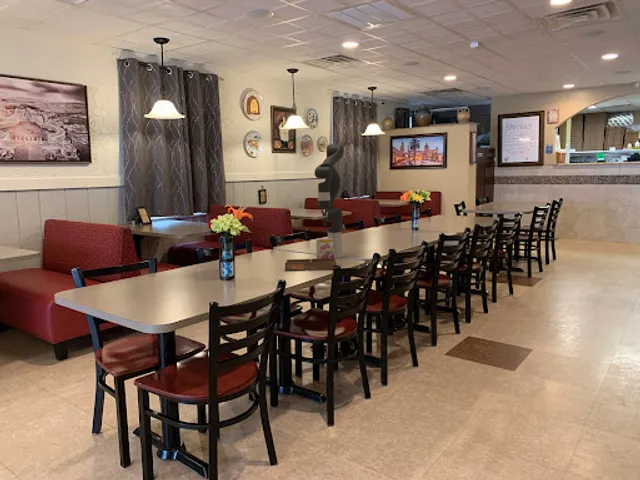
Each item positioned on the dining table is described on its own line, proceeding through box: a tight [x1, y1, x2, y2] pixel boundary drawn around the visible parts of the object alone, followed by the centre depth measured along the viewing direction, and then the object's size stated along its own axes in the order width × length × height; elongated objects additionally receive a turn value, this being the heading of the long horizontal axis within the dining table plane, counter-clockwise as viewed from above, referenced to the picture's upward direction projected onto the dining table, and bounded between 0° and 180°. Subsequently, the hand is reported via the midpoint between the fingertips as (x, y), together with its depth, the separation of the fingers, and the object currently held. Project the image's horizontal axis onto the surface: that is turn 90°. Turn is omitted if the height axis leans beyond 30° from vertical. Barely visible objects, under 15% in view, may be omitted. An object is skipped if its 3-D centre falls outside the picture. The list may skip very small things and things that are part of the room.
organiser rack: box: [284, 258, 337, 272], centre depth 304 cm, size 11×30×5 cm, turn 89°
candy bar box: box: [316, 238, 335, 259], centre depth 313 cm, size 11×5×16 cm, turn 84°
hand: (324, 225), depth 311 cm, fingers open, 8 cm apart
